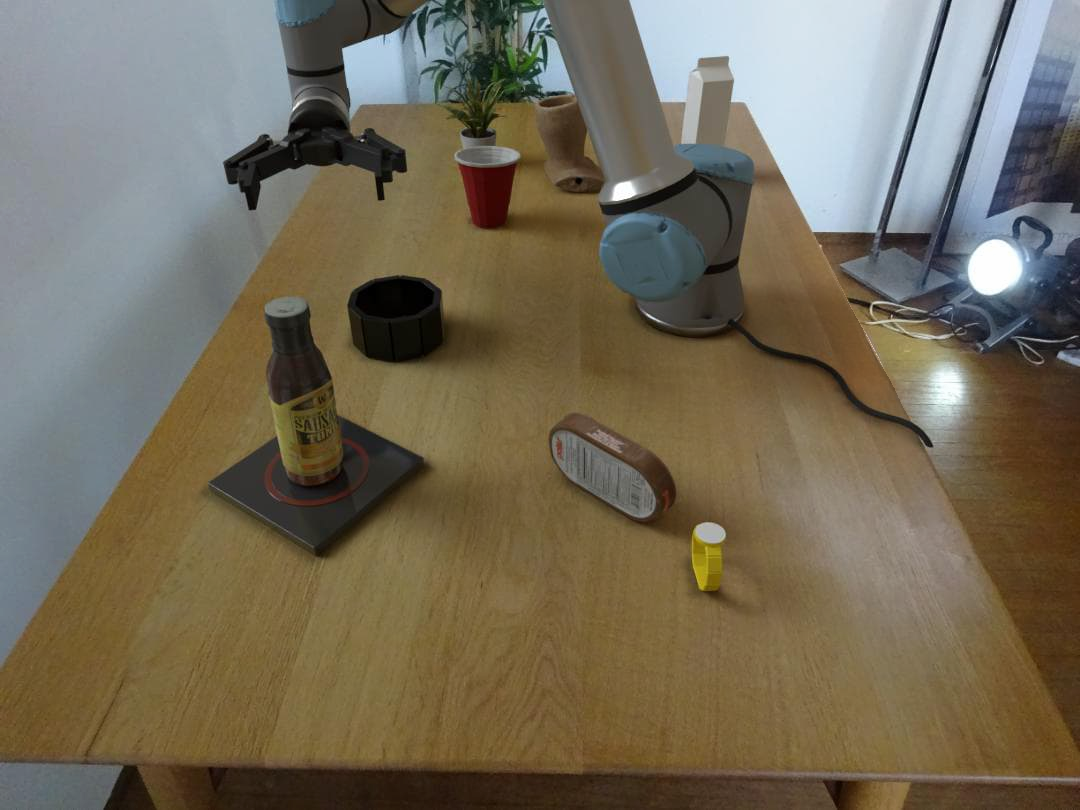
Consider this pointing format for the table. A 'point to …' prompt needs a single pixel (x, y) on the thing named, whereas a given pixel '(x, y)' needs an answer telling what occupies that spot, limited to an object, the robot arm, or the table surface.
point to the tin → (612, 467)
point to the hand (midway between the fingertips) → (315, 193)
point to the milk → (708, 102)
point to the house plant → (476, 115)
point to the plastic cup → (488, 182)
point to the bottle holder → (398, 334)
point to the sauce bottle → (301, 396)
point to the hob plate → (318, 487)
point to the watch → (708, 555)
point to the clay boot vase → (566, 144)
